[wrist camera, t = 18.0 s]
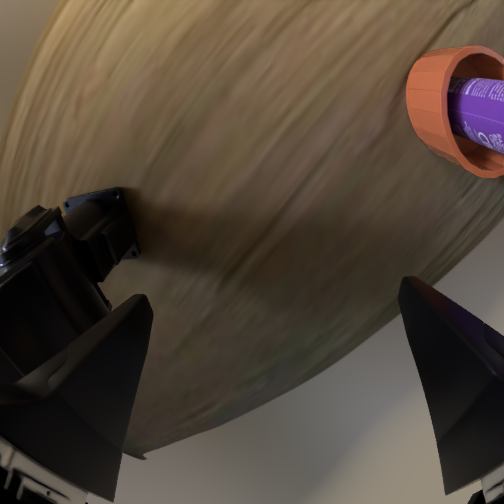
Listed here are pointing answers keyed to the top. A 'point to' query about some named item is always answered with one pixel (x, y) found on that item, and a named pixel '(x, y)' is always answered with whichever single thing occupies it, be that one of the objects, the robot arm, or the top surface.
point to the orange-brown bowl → (435, 105)
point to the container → (477, 110)
